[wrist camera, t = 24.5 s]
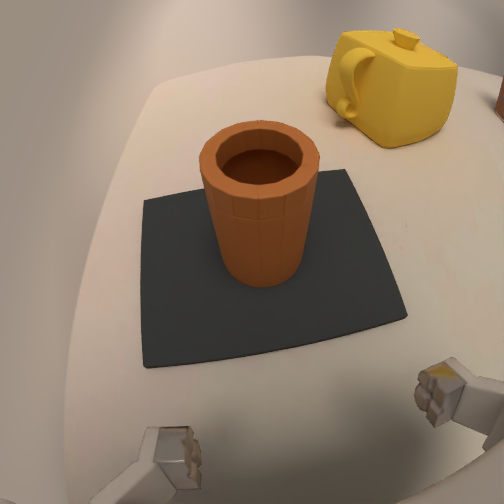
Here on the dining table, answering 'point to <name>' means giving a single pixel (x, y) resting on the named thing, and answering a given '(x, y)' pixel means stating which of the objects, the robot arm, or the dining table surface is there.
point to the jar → (260, 198)
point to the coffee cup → (500, 103)
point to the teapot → (391, 85)
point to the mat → (259, 298)
